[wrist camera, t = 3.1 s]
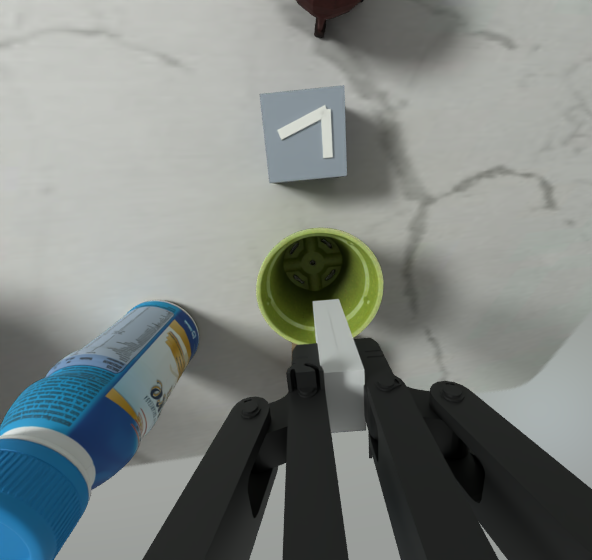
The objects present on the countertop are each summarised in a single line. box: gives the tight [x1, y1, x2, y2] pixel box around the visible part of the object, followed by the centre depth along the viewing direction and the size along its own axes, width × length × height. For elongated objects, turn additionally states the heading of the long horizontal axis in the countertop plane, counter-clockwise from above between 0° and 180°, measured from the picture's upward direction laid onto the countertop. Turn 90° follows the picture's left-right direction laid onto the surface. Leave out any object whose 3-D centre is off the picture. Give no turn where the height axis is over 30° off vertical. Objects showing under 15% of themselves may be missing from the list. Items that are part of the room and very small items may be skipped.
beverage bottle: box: [0, 300, 199, 560], centre depth 22 cm, size 8×8×20 cm
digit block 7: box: [260, 85, 347, 183], centre depth 24 cm, size 6×6×5 cm
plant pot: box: [256, 228, 384, 345], centre depth 25 cm, size 9×9×9 cm
